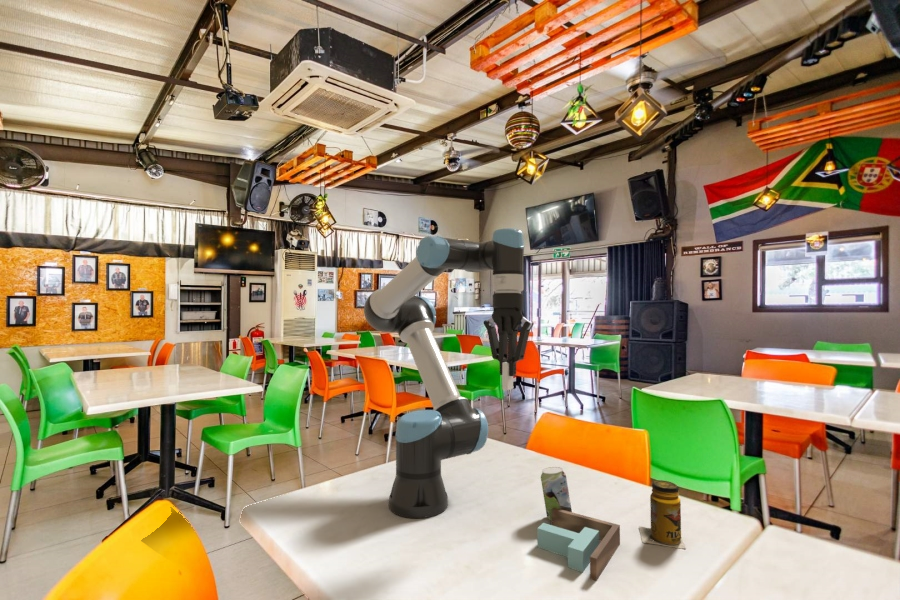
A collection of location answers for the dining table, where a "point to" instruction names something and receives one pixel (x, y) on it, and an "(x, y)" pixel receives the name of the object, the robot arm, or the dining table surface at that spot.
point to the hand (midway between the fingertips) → (507, 389)
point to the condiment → (664, 516)
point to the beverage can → (555, 490)
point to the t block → (569, 544)
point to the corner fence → (607, 530)
